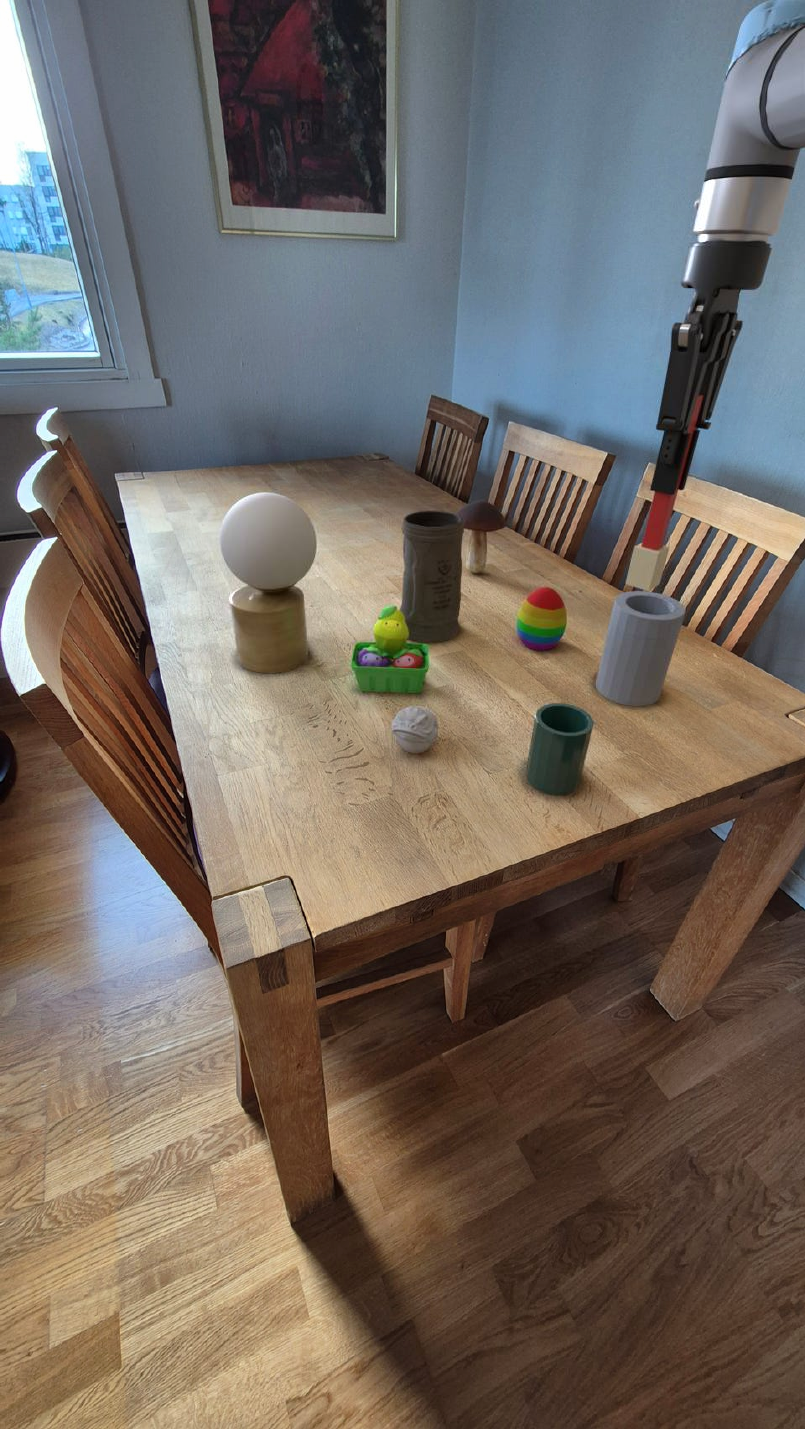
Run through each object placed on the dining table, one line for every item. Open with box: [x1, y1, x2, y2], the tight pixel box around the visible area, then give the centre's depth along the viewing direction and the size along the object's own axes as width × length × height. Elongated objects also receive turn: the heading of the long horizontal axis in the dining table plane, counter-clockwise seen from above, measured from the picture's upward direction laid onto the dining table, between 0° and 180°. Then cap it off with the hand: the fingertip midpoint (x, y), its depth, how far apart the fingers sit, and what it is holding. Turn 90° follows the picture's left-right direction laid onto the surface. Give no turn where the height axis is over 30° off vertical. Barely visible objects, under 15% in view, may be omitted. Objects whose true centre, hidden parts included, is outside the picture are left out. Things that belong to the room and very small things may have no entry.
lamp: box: [219, 492, 318, 674], centre depth 96 cm, size 15×14×25 cm
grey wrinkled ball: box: [390, 705, 439, 754], centre depth 80 cm, size 6×7×7 cm
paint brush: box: [625, 395, 703, 592], centre depth 74 cm, size 3×3×22 cm
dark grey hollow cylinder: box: [399, 510, 465, 643], centre depth 107 cm, size 15×11×20 cm
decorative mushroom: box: [455, 499, 507, 574], centre depth 128 cm, size 11×11×15 cm
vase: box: [595, 590, 687, 707], centre depth 91 cm, size 9×9×14 cm
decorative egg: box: [516, 586, 568, 651], centre depth 104 cm, size 8×8×10 cm
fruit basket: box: [350, 605, 430, 694], centre depth 93 cm, size 11×9×11 cm
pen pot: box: [525, 702, 595, 796], centre depth 75 cm, size 7×7×9 cm
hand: (667, 489), depth 74 cm, fingers closed on paint brush, 2 cm apart
